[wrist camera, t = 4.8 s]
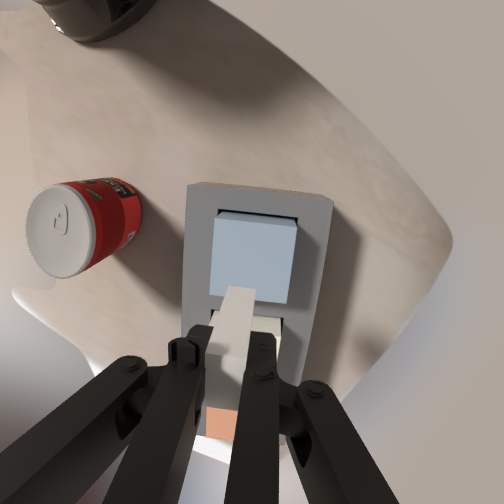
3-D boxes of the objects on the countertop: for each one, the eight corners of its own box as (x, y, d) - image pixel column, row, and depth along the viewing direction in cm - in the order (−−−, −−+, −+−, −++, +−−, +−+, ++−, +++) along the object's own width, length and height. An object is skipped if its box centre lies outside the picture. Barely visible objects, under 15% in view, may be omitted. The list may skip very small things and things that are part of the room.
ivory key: (217, 303, 30) (207, 328, 26) (279, 311, 30) (281, 336, 25) (214, 355, 32) (205, 384, 27) (272, 362, 32) (271, 392, 27)
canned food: (145, 177, 32) (91, 184, 21) (144, 250, 34) (95, 286, 23) (86, 176, 32) (22, 184, 21) (86, 245, 34) (28, 274, 24)
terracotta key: (214, 371, 34) (206, 399, 29) (268, 377, 34) (267, 407, 29) (213, 408, 35) (206, 437, 31) (262, 414, 35) (260, 444, 30)
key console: (202, 181, 32) (187, 185, 26) (322, 194, 31) (333, 201, 25) (193, 401, 39) (183, 432, 33) (283, 413, 38) (284, 445, 33)
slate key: (224, 209, 28) (214, 218, 23) (292, 216, 28) (297, 227, 23) (219, 274, 30) (209, 294, 25) (284, 281, 29) (286, 303, 25)
